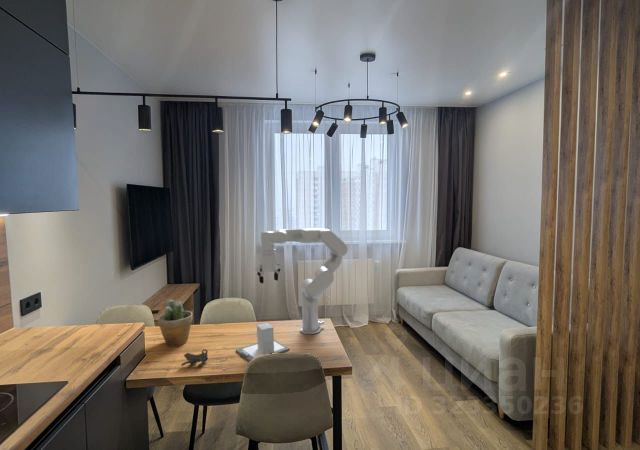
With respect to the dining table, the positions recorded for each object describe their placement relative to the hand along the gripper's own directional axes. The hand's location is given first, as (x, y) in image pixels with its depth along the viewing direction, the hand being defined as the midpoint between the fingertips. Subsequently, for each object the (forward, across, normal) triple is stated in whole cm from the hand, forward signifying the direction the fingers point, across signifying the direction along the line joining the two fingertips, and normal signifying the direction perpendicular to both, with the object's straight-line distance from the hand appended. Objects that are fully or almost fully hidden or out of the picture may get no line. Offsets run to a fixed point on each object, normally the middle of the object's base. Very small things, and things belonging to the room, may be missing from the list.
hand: (269, 281), depth 198 cm
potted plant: (+32, +45, -28) cm, 62 cm away
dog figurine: (+33, +46, +6) cm, 57 cm away
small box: (+31, +14, +18) cm, 39 cm away
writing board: (+32, +14, +15) cm, 38 cm away
